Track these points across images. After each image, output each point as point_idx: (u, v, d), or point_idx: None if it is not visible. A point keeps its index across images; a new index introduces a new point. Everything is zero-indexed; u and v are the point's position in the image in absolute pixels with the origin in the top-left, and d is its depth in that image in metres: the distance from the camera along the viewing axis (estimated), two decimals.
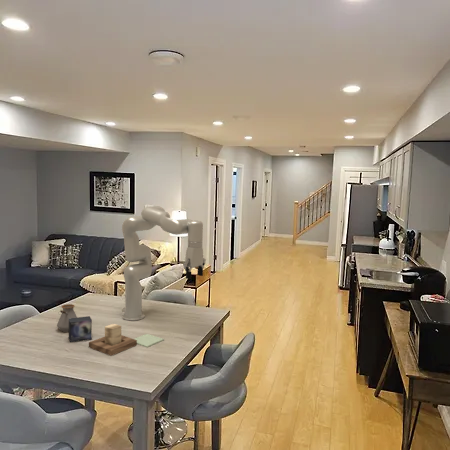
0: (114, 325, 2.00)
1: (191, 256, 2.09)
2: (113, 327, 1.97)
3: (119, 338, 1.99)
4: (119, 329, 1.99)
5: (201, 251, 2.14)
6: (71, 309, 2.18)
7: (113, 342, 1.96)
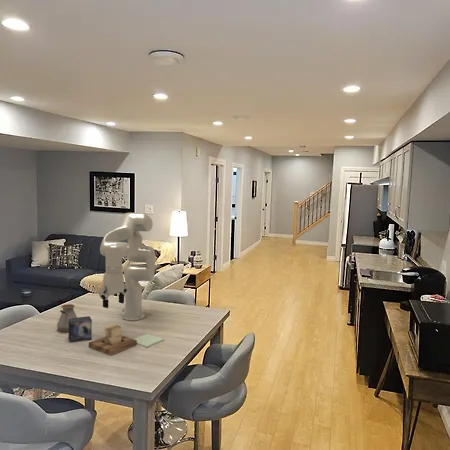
0: (114, 325, 2.00)
1: (108, 283, 1.92)
2: (113, 327, 1.97)
3: (119, 338, 1.99)
4: (119, 329, 1.99)
5: (121, 277, 1.97)
6: (71, 309, 2.18)
7: (113, 342, 1.96)
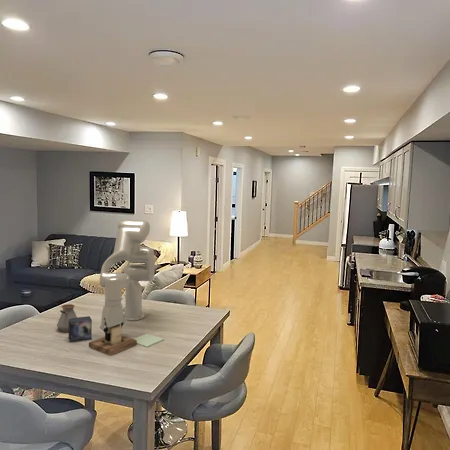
0: None
1: (107, 316, 1.93)
2: (113, 327, 1.97)
3: (119, 338, 1.99)
4: (119, 329, 1.99)
5: (120, 309, 1.99)
6: (71, 309, 2.18)
7: (113, 342, 1.96)
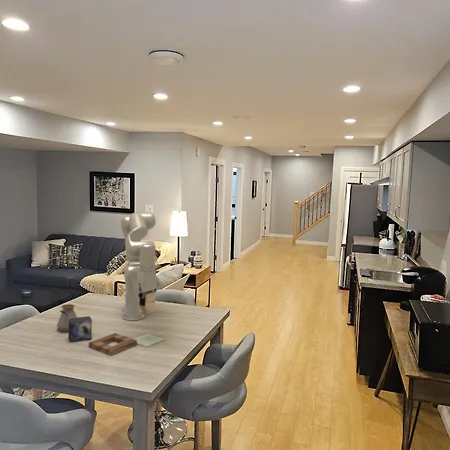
0: (148, 291, 2.06)
1: (142, 281, 2.00)
2: (147, 292, 2.04)
3: (153, 303, 2.05)
4: (153, 295, 2.05)
5: (154, 275, 2.05)
6: (71, 309, 2.18)
7: (147, 307, 2.02)
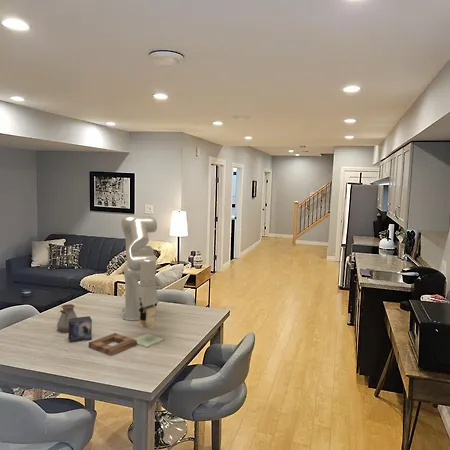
0: None
1: (142, 296, 2.00)
2: (148, 307, 2.04)
3: (153, 318, 2.06)
4: (153, 309, 2.06)
5: (154, 290, 2.06)
6: (71, 309, 2.18)
7: (148, 321, 2.03)
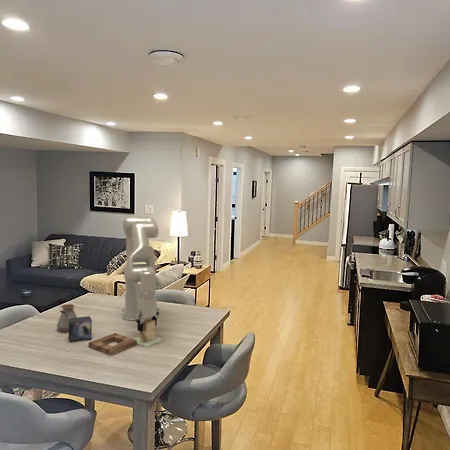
0: (148, 319, 2.08)
1: (142, 308, 2.01)
2: (147, 321, 2.05)
3: (153, 332, 2.07)
4: (153, 323, 2.07)
5: (154, 301, 2.06)
6: (71, 309, 2.18)
7: (148, 335, 2.04)
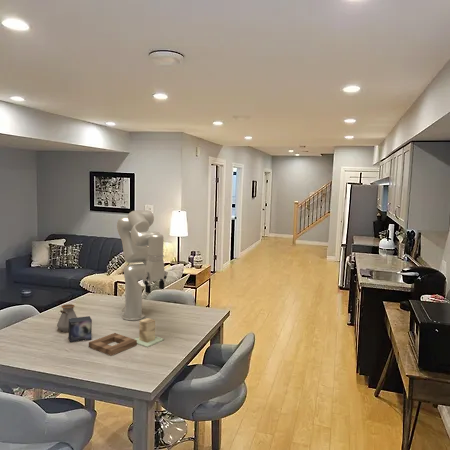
0: (148, 319, 2.08)
1: (150, 270, 2.06)
2: (147, 321, 2.05)
3: (153, 332, 2.07)
4: (153, 323, 2.07)
5: (162, 265, 2.11)
6: (71, 309, 2.18)
7: (148, 335, 2.04)
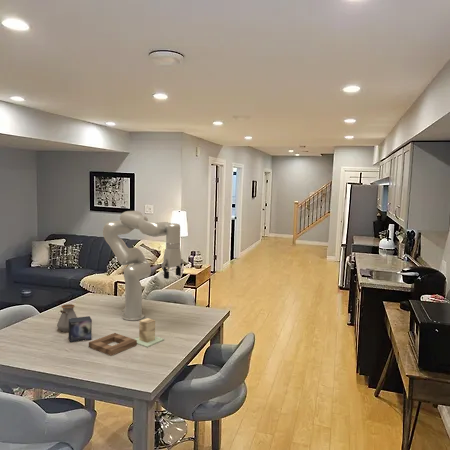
0: (148, 319, 2.08)
1: (169, 257, 2.20)
2: (147, 321, 2.05)
3: (153, 332, 2.07)
4: (153, 323, 2.07)
5: (179, 252, 2.25)
6: (71, 309, 2.18)
7: (148, 335, 2.04)
